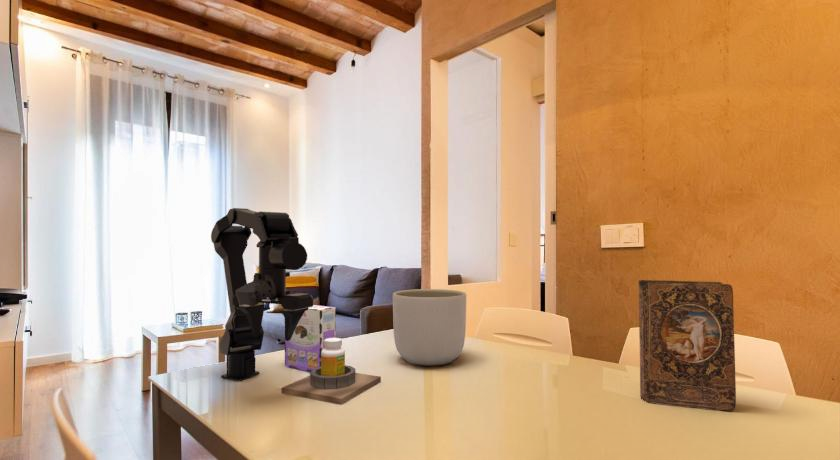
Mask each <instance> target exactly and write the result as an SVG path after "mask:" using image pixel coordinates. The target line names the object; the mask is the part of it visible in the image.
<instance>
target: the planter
mask: <svg viewBox="0 0 840 460" xmlns="http://www.w3.org/2000/svg"><path fill="white" fill-rule="evenodd" d="M392 321H393V327H392V328H393V339H394V344H395V345H394V346H395V348H396V351H397V353H398V354H399V355H400V356H401V358H402V359H404V360H405V361H407V362H408V363H410V364H411V365H416V366H423V367H424V366H425V367H434V366H436V367H437V366H443V365H447V364H450V363H451V362H453V361H454V360H456V359H457V358H458V357H459V355H460V354H461V353H462V351H463V349H464V345H465V341H466V340H465V339H466V330H467V328H466V326H467V325H466V324H467V293H466V291H465V292H464V291H461V290H455V289H443V288H442V289H441V288H420V289H419V288H417V289H406V290H405V289H404V290H398V291H395V292H393V293H392Z"/></svg>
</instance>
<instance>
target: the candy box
mask: <svg viewBox="0 0 840 460" xmlns="http://www.w3.org/2000/svg"><path fill="white" fill-rule="evenodd" d="M308 308H309V309H308V310H306V311H305V312H304V314H303V315H302V317H301V319H300V320H299V322H298V324H297V327H296V329H295V331H294V333H293V335H292V337H291V339H290V340H289V341H286V339H285V338H284V367H285V368H291V369H295V370H299V371H300V370H301V371H304V372H305V371H306V372H309V373H311V371H312V370H313V369H315V368H318V367H321V352H322V350H323V349H324V348H325V346H324V340H325V339H327V338H337V337H336V335H337V334H336V327H337V325H336V324H337V323H336V317H337V316H336V312H337V311H336V310H337V309H336V308H337V307H335V306H327V305H326V306H325V305H317V304H313V306H312V307H308ZM284 310H286V309H284Z"/></svg>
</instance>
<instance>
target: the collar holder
mask: <svg viewBox="0 0 840 460" xmlns="http://www.w3.org/2000/svg"><path fill="white" fill-rule="evenodd" d="M381 382H382V376H378V375H373V374H372V375H371V374H365V373H359V372H356V368H355V367H353V366H351V365H347V364H345V375H340V376H321V367H318V368H315V369H313V370H312V371H311V372H309V375H308V376H306V377H303V378H301V379H299V380H296V381H294V382H292V383H289V384H287V385H284V386H282V387H281V393H282V394H285V395H290V396H295V397H300V398H306V399H311V400H316V401H320V402H326V403H332V404H337V405H343V404H345V403H346V402H348V401H350V400H351V399H354V398H356V396H359V395H360V394H362V393H364V392H366V391H367V390H369V389H371V388H373V387H375V386H376V385H377V384H379V383H381Z"/></svg>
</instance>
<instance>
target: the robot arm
mask: <svg viewBox="0 0 840 460" xmlns="http://www.w3.org/2000/svg"><path fill="white" fill-rule="evenodd" d="M252 233H253V234H254V235H256V236H257V237H258V239H259V241H258V242H257V244H256V248H258V272H255V273H254V275H253V281H251V282H248V280H247V276H246V269H245V263H244V261H245V260H244V256H243V255H244V253H245V250H246V248H247V247H248V240H249V239H250V237H251V235H252ZM298 236H299V234H298V232H297V230H296V229H295V226H294V224H293V220H292V219H291V217H290V214H289V213H287V212H275V211H255V210H252V209H249V208H241V207H233V208H230V209H229V210H228V211H227V213H226V215H225V216H223V217H222V218H220V219H219V220H217V221H216V222H215V224H214V226H213V228H212V230H211V234H210V241H211V243H212V244H213V247H214V251H215V253H216V254H217V255H218V256H219V257H220V258H221V260H222V261H223V269H224V274H225V282H226V283H225V284H226V291H227V296H228V304H229V313H230V314H229V316H228V318H227V321H226V323H225V325H224V327H225V328H224V329H225V331H224V334H223V335H222V337H221V340H220V342H219V344H218V345H219V352H220V353H221V354H223V355H225V356H226V373H224V374H222V375H220V377H221V378H223V379H227V380H233V381H238V382H239V381H243V380H246V379H248V378H251V377H254V376H257V375H259V374H260V371H258V370H256V356H255V355H256V354H255V351H260V350H261V349H262V345H263V342H264V341H263V339H264V334H265V332H264V328H263V325H262V323H263V319H264V311H265V305H266V304H270V305H271V304H272V305H273V304H274V305H280V306H281V307H282V308H283V309H281V310H280V313H281V314H282V316H283V317H284V340H285V339H286V341H289V340H290V339H291V337H292V335H293V333H294V331H295V329H296V327H297V324H298V322H299V320H300V319H301V317H302V315H303V314H304V312H305V311H306V310H308V309H309V308H308V307H312V306H313V305H314V298H313V296H312V294H311V293H301V292H298V293H297V292H296V293H290V290H289V289H287V286H286V285H287V281H286V279H287V278H288V277H289V278H290V275H291V273H290V271H286V270H291V271H297V270H300V269H302V268H303V267H304V265H305V264H306V263H307V260H308V253H307V250H306V248H305V247H304V245H303V244H301V243H300V241H299V237H298ZM285 309H286V310H285Z"/></svg>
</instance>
